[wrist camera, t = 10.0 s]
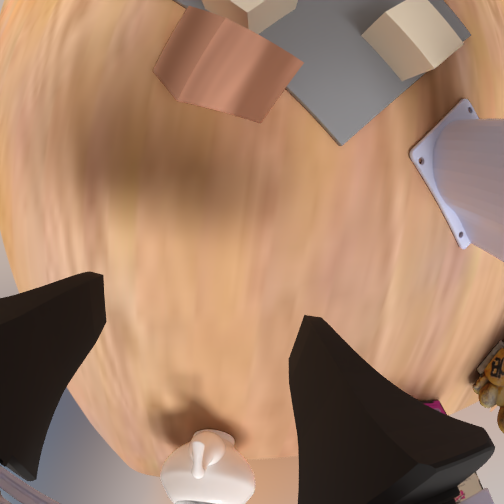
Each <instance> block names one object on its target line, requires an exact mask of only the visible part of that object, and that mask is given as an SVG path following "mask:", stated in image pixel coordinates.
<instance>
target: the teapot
mask: <svg viewBox="0 0 504 504" xmlns="http://www.w3.org/2000/svg"><path fill="white" fill-rule="evenodd" d="M234 445H235V440H234V438H233V437H232V436H231V435H229V434H227V433H225V432H222V431H219V430H213V429H205V430H200V431H197V432H195V433H194V435H193V438H192V439H191V441H190V442H188V443H186V444H184V445H182V446H180V447H179V448H177V449H176V450H174V451H173V452H172V453H171V454H170V455H169V456H168V458H167V459H166V460H165V462H164V464H163V466H162V469H161V473H160V479H161V482H162V484H163V487H164V489H165V491H166V493H167V495H168V497H169V498H170V500H171V501H172V502H173V503H174V504H245V503H246V502H247V501H248V500H249V498H250V497H251V496H252V495H253V493H254V491H255V476H254V473H253V471H252V468H251V466H250V465H249V463H248V461H247V460H246V459H245V458H244V456H243V455H242V454H241V453H239V452H238V451H237V450H236V449H235V447H234Z"/></svg>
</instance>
